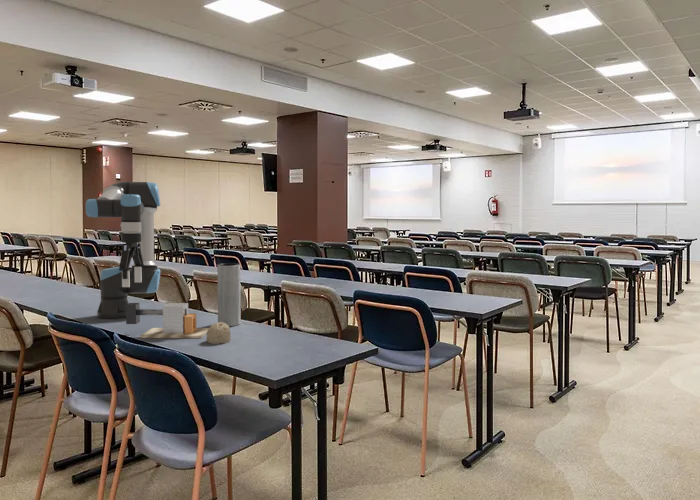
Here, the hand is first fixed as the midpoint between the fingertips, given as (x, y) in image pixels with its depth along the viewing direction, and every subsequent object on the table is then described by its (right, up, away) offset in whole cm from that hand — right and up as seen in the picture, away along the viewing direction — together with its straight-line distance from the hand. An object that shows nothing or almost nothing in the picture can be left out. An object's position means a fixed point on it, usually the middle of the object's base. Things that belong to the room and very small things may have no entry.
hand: (132, 284), depth 223 cm
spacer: (+23, -16, +2) cm, 28 cm away
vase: (+35, -19, +22) cm, 46 cm away
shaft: (+9, -16, +1) cm, 18 cm away
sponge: (+38, -22, -9) cm, 44 cm away
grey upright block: (+17, -20, +2) cm, 27 cm away
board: (+17, -20, +2) cm, 27 cm away
